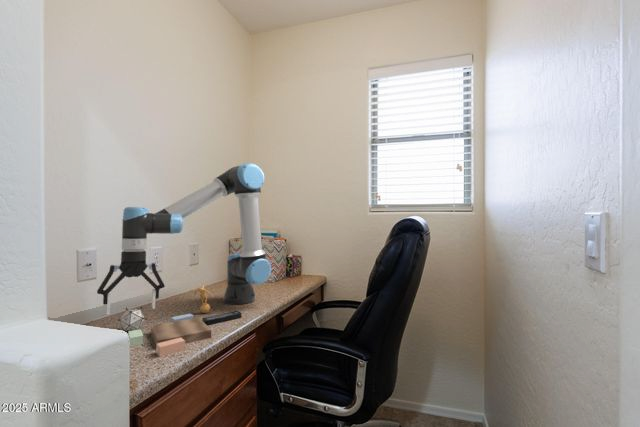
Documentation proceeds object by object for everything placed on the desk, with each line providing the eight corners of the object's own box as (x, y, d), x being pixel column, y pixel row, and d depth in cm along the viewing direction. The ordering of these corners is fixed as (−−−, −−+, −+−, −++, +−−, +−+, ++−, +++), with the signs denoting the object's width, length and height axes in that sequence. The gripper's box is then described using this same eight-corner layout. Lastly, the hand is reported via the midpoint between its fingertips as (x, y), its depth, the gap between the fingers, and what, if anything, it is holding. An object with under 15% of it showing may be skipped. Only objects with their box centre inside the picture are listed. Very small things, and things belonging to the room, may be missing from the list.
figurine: (216, 312, 130) (217, 284, 130) (209, 316, 124) (209, 287, 124) (198, 311, 131) (199, 283, 132) (190, 315, 125) (191, 286, 126)
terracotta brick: (180, 347, 95) (180, 337, 95) (184, 350, 92) (185, 340, 92) (156, 353, 90) (156, 343, 90) (159, 357, 88) (160, 347, 88)
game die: (133, 343, 106) (129, 325, 101) (114, 332, 108) (109, 314, 102) (154, 323, 113) (151, 306, 108) (135, 313, 115) (132, 296, 109)
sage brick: (128, 340, 100) (128, 331, 100) (140, 338, 102) (140, 329, 102) (129, 347, 94) (130, 338, 94) (143, 345, 96) (143, 335, 96)
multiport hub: (201, 324, 116) (201, 317, 117) (236, 316, 126) (236, 310, 126) (206, 327, 113) (206, 320, 113) (241, 318, 123) (242, 313, 123)
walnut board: (198, 324, 115) (198, 317, 115) (211, 337, 102) (211, 330, 102) (150, 333, 106) (150, 325, 106) (157, 349, 93) (157, 340, 93)
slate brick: (189, 321, 119) (190, 313, 119) (193, 323, 117) (193, 315, 117) (170, 325, 114) (171, 317, 114) (174, 327, 112) (174, 319, 112)
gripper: (89, 252, 98) (86, 319, 97) (174, 250, 113) (172, 308, 112) (90, 250, 104) (87, 313, 103) (170, 248, 119) (168, 303, 118)
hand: (131, 310), depth 108 cm, fingers open, 13 cm apart
